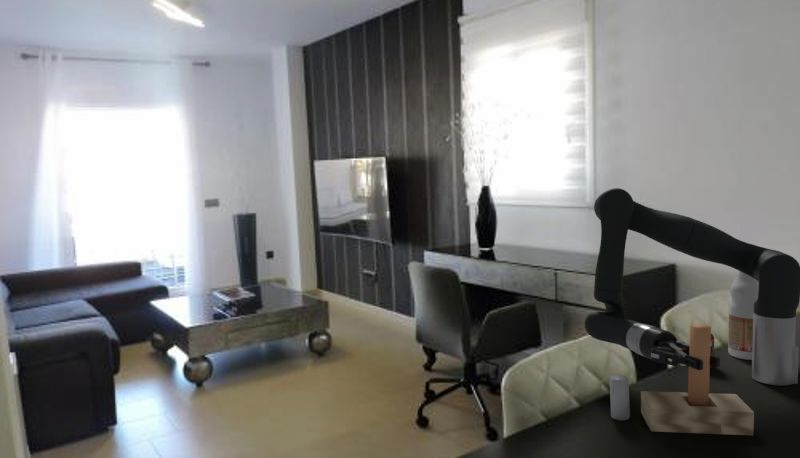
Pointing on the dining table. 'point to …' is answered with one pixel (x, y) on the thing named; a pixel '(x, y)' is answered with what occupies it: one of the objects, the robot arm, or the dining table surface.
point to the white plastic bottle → (742, 316)
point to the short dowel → (619, 397)
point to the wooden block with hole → (696, 414)
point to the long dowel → (700, 378)
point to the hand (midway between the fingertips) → (709, 364)
